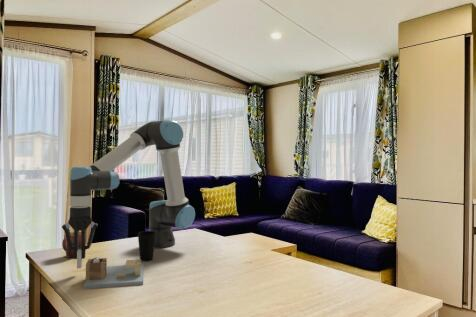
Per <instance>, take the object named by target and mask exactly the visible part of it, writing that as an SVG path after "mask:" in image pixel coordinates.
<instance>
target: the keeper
mask: <svg viewBox="0 0 476 317" xmlns="http://www.w3.org/2000/svg"><path fill="white" fill-rule="evenodd" d="M141 264H142V261H141V259H140V258H139V259H136V258H135V259H126V261H125V264H124V265H125V268H134V267H135V277H139V276H141ZM121 278H125V274H117V279H121Z"/></svg>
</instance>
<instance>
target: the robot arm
mask: <svg viewBox="0 0 476 317" xmlns="http://www.w3.org/2000/svg"><path fill="white" fill-rule="evenodd" d="M183 138H184V130H183V128H182V126H181V124H180V123H178V122H177V121H175V120H169V119H165V120H158V121H157V120H156V121H149V122H147V123H145V124H143V125H142V126H140V127H139V128H137V129H135V130H134V131H133V132H132V133H130V135H129V137H128V138H127V139H126V140H124V141H123V142H121V143H119V145H117V146H116V147H115V148H113V149H112V150H110V151H109V152H108V153H106V154H105V155H103V156H102V157H101V158H99V159H98V160H97V161H95V162H93V164H91V165H90V166H72V167H71V169H70V173H69V175H70V176H69V188H70V190H69V191H70V192H69V206H70V207H69V219H68V222H66V223H64V224H63V225H62V226H61V229H62V230H63V231H64V234H65V235H66V239H67V243H68V247H69V249H70V250H74V260H76V269H82V267H83V260H84V259H85V258H86V251H87V250H88V249H90V248H91V245H92V242H93V239H94V235H95V232H96V229H97V227H98V225H99V224H98V223H97V222H96V223H95V222H94V221H93V219H92V217H91V216H92V207H91V205H92V191H104V190H114V189H117V188H118V187H119V185H120V183H121V182H120V175H119V173H118V172H116V171H114V170H115V169H116V168H118V167H119V166H120V165H122V164H123V163H124V162H126V161H127V160H129V159H130V158H131V157H132V156H134V155H135V154H136V153H137V152H139V151H140V150H141V151H142V150H145V149H146V148H147V147H150V146H154V145H155V150H156V151H157V152H159V156H160V162H161V168H162V173H163V180H164V185H165V192H166V197H167V199H166V200H165V199H163V200H156V201H151V202H150V203H149V208H148V211H149V213H148V214H149V215H148V216H149V220H148V221H149V224H148V225H149V227H148V228H149V229H148V231H153V232H155V243H154V248H158V249H159V248H168V247H172V246H174V245H175V244H176V238H175V236H174V232H173V228H177V229H187V228H189V227H190V226H191V225H192V224H193V222H194V220H195V218H196V211H195V208H194V207H193V206H192V205H190V202H189V198H187V197H186V195H185V191H184V190H185V189H184V183H183V176H182V171H181V170H182V169H181V164H180V158H179V157H180V156H179V149H180V147H181V143H182V141H183ZM89 226H90V228H91V229H90V232H89V235H88V236H89V237H88V239H87V238H86V237H87V234H86V233H87V229H88V228H89ZM70 227H71V229H72V230H73V232H74V246H73V242H72V238H71V234H70V233H71V231H70ZM79 232H81V250H78V249H79ZM86 239H87V240H86ZM86 242H87V243H86Z"/></svg>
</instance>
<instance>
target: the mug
mask: <svg viewBox="0 0 476 317" xmlns="http://www.w3.org/2000/svg"><path fill="white" fill-rule="evenodd" d="M70 234H71V238H72V242H73V246H74V231H72V232H71V231H70ZM63 236H64V238H63V239H62V242H61V247H62V249H63V251H64V252H65V256H66V257H67V258H69V259H70V258H71V259H73V258H74V250H70V249H69V247H68V243H67V239H66V235H65V233H64V235H63ZM78 250H81V231H79V249H78Z"/></svg>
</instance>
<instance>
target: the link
mask: <svg viewBox="0 0 476 317" xmlns="http://www.w3.org/2000/svg"><path fill="white" fill-rule="evenodd" d="M99 258H100V260H99V262H95V263H93V258H88V259H87V261H86V262H85V281H86V280H100V279H105V276H106V272H107V266H108V265H107V262H108V261H107V257H99Z"/></svg>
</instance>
